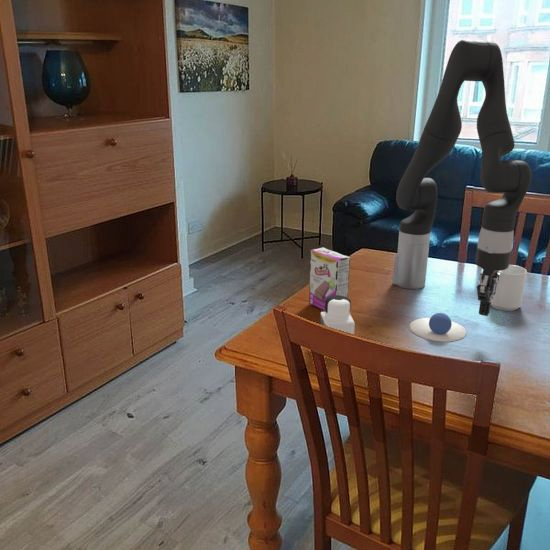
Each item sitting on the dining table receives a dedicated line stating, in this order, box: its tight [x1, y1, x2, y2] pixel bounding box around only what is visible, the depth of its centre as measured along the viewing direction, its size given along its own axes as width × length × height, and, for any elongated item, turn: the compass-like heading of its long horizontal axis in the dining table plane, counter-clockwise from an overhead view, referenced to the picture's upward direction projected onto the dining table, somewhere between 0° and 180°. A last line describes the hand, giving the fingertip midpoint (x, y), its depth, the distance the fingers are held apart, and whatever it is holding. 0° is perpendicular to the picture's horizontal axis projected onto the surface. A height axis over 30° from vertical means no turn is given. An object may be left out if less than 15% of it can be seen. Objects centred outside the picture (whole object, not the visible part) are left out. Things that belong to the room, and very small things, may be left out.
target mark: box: [409, 317, 467, 343], centre depth 144 cm, size 14×14×1 cm
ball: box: [429, 312, 452, 335], centre depth 141 cm, size 6×6×6 cm
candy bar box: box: [308, 246, 351, 312], centre depth 154 cm, size 11×5×16 cm, turn 37°
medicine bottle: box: [319, 295, 356, 335], centre depth 134 cm, size 7×7×12 cm
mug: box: [490, 264, 528, 312], centre depth 159 cm, size 12×9×11 cm
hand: (483, 314), depth 137 cm, fingers closed
